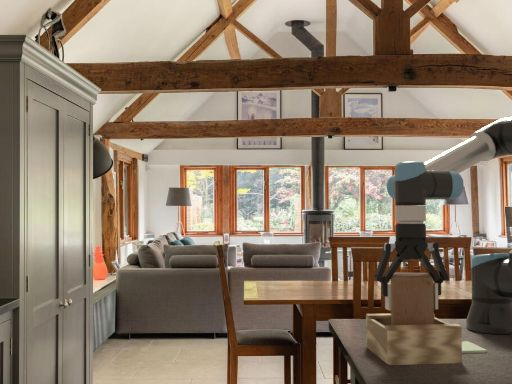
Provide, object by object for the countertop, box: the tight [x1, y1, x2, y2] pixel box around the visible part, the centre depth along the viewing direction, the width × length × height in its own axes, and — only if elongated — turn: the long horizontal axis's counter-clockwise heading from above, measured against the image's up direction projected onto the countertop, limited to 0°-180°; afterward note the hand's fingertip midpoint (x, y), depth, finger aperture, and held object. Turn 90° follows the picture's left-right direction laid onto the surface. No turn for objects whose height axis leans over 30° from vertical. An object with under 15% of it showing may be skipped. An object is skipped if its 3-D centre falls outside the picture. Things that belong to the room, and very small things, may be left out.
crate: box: [365, 312, 463, 366], centre depth 148 cm, size 18×18×9 cm
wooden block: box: [390, 271, 435, 325], centre depth 148 cm, size 10×10×20 cm
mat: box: [462, 340, 488, 354], centre depth 154 cm, size 10×10×1 cm
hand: (411, 309), depth 148 cm, fingers closed on wooden block, 11 cm apart
